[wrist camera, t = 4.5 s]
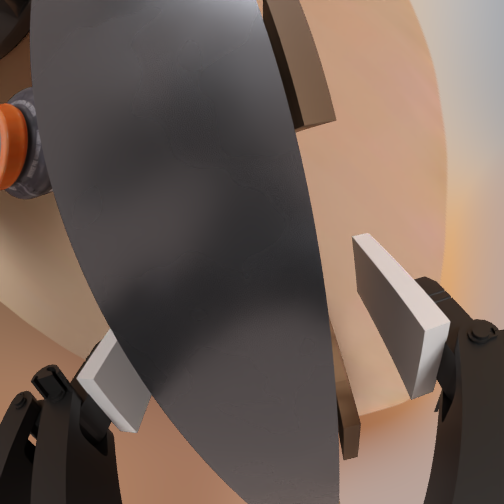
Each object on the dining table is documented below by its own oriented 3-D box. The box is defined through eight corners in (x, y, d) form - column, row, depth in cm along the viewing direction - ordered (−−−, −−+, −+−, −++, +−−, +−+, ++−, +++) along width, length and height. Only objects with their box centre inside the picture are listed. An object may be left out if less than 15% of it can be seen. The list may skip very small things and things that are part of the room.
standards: (258, 377, 25) (253, 491, 14) (162, 56, 15) (57, -12, 4) (331, 364, 24) (356, 477, 13) (261, 27, 14) (258, -89, 3)
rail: (329, 436, 15) (340, 515, 10) (268, 446, 16) (266, 524, 10) (236, -8, 7) (208, -119, 1) (130, 28, 7) (27, -33, 2)
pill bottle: (61, 140, 17) (-51, 161, 7) (105, 81, 16) (-10, 59, 5) (103, 190, 19) (-9, 242, 8) (152, 131, 17) (38, 134, 7)
